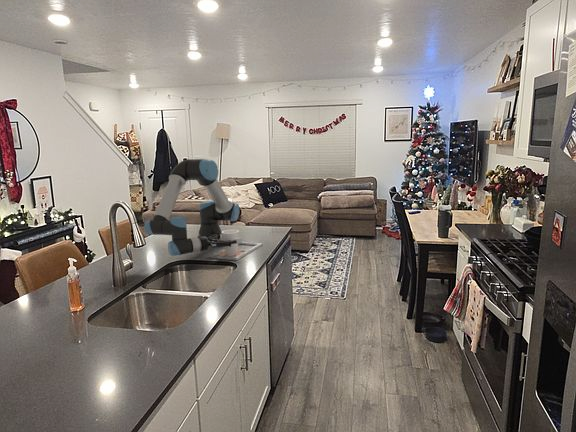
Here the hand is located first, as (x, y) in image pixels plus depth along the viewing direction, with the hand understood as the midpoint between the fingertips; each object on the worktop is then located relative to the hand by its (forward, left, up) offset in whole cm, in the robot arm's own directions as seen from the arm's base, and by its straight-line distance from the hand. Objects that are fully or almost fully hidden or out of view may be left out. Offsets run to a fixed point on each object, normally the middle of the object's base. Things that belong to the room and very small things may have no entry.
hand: (236, 237), depth 213 cm
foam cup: (+3, -2, -9) cm, 10 cm away
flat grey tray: (-5, -2, -9) cm, 10 cm away
